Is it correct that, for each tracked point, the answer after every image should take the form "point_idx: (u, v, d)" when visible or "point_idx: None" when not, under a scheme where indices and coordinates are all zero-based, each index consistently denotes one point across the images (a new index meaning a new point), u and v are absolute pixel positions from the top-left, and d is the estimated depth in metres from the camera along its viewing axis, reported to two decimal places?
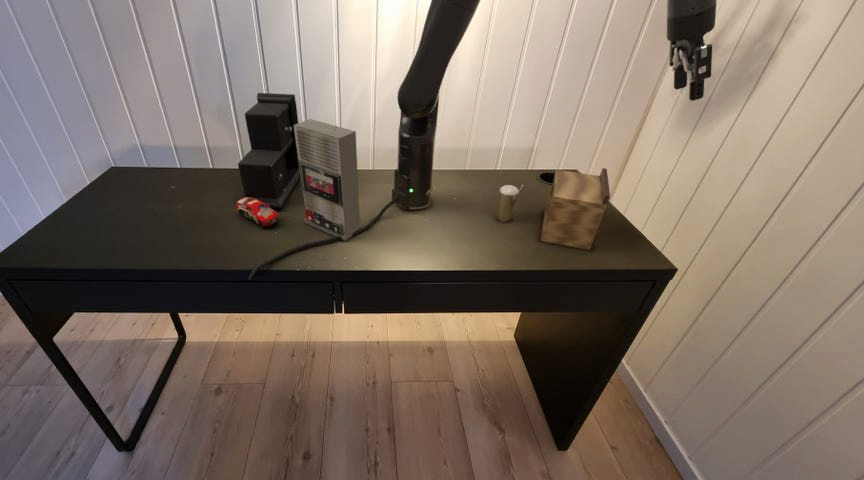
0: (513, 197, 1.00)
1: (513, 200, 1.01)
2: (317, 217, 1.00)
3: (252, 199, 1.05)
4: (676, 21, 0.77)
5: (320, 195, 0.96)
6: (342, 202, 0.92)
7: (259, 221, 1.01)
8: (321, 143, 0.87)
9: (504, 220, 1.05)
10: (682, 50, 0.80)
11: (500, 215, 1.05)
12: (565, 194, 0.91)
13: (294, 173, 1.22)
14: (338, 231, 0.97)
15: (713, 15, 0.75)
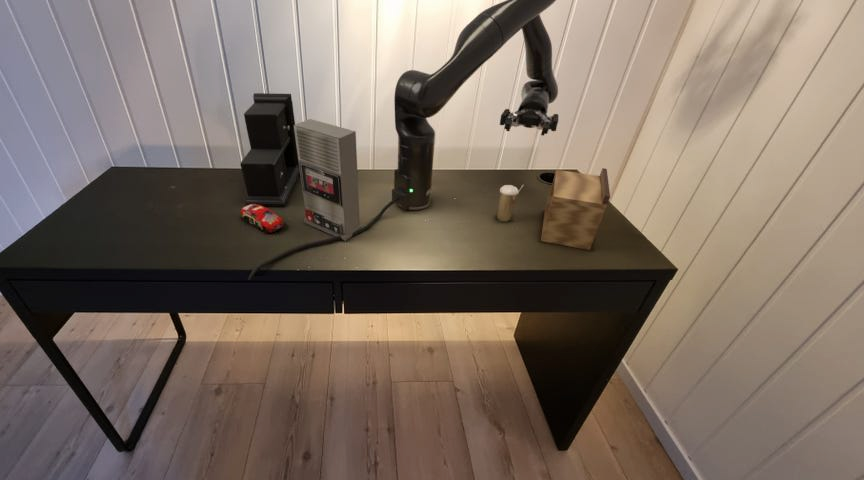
0: (513, 197, 1.00)
1: (513, 200, 1.01)
2: (317, 217, 1.00)
3: (257, 205, 1.04)
4: (543, 99, 1.10)
5: (320, 195, 0.96)
6: (342, 202, 0.92)
7: (264, 227, 1.00)
8: (321, 143, 0.87)
9: (504, 220, 1.05)
10: None
11: (500, 215, 1.05)
12: (565, 194, 0.91)
13: (292, 171, 1.24)
14: (338, 231, 0.97)
15: None
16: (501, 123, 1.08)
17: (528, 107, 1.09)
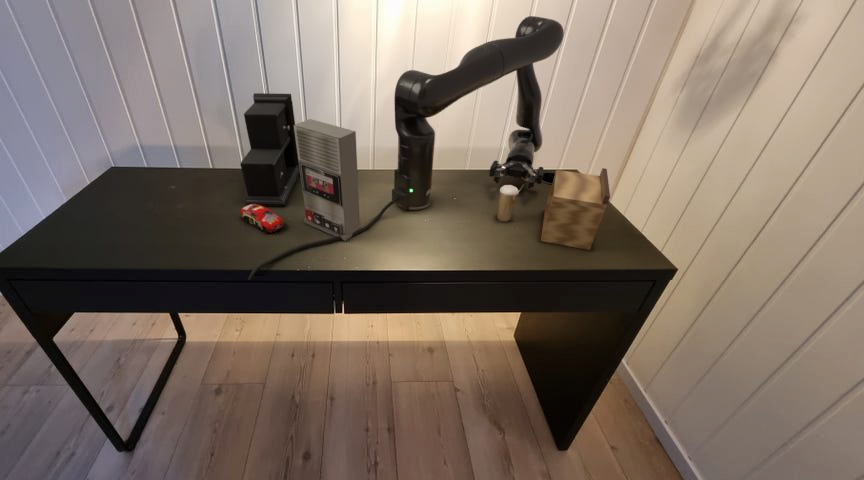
0: (513, 197, 1.00)
1: (513, 200, 1.01)
2: (317, 217, 1.00)
3: (257, 205, 1.04)
4: (529, 152, 1.18)
5: (320, 195, 0.96)
6: (342, 202, 0.92)
7: (264, 227, 1.00)
8: (321, 143, 0.87)
9: (504, 220, 1.05)
10: None
11: (500, 215, 1.05)
12: (565, 194, 0.91)
13: (292, 171, 1.24)
14: (338, 231, 0.97)
15: None
16: (490, 174, 1.15)
17: (515, 159, 1.17)
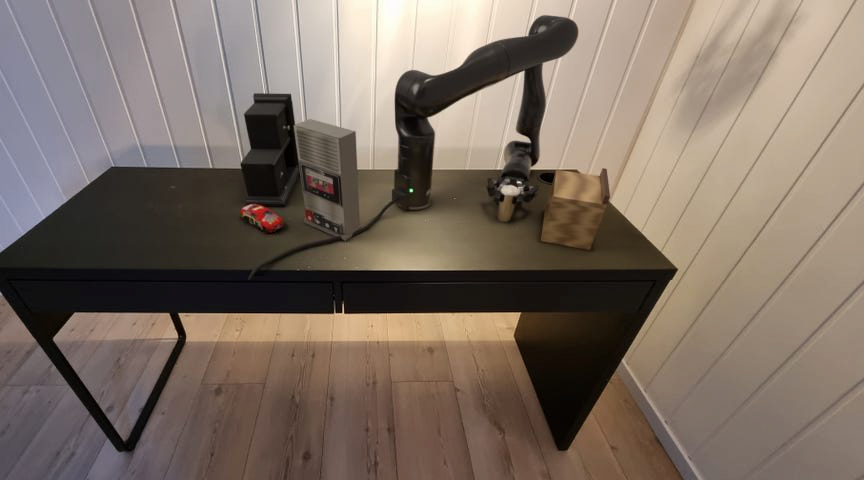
0: (514, 197, 1.00)
1: (514, 200, 1.01)
2: (317, 217, 1.00)
3: (257, 205, 1.04)
4: (525, 167, 1.10)
5: (320, 195, 0.96)
6: (342, 202, 0.92)
7: (264, 227, 1.00)
8: (321, 143, 0.87)
9: (504, 220, 1.05)
10: None
11: (501, 215, 1.04)
12: (565, 194, 0.91)
13: (292, 171, 1.24)
14: (338, 231, 0.97)
15: None
16: (491, 194, 1.06)
17: (511, 175, 1.09)
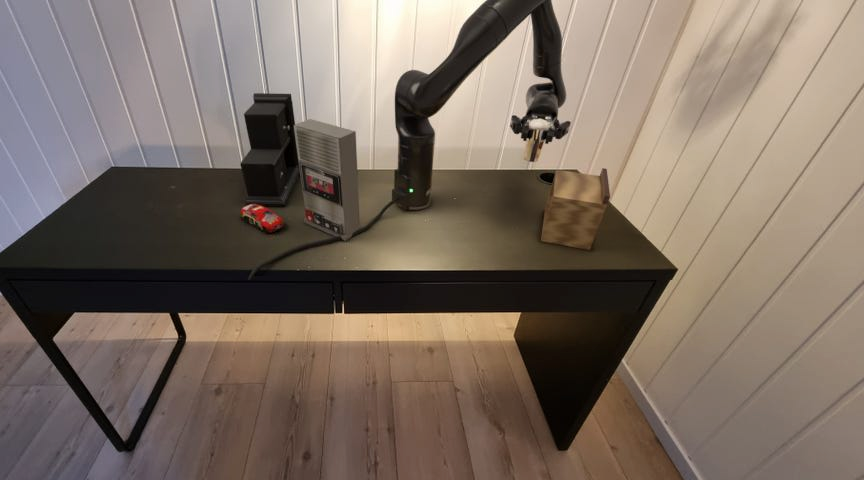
0: (544, 131, 0.89)
1: (544, 135, 0.90)
2: (317, 217, 1.00)
3: (257, 205, 1.04)
4: (553, 104, 0.99)
5: (320, 195, 0.96)
6: (342, 202, 0.92)
7: (264, 227, 1.00)
8: (321, 143, 0.87)
9: (532, 160, 0.94)
10: None
11: (528, 154, 0.93)
12: (565, 194, 0.91)
13: (292, 171, 1.24)
14: (338, 231, 0.97)
15: None
16: (517, 132, 0.94)
17: (538, 112, 0.98)
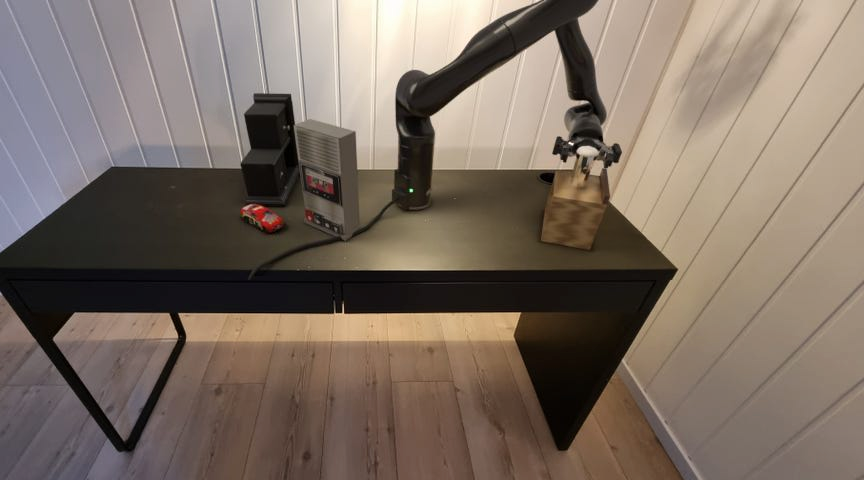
0: (593, 159, 0.89)
1: (593, 162, 0.90)
2: (317, 217, 1.00)
3: (257, 205, 1.04)
4: (599, 126, 0.98)
5: (320, 195, 0.96)
6: (342, 202, 0.92)
7: (264, 227, 1.00)
8: (321, 143, 0.87)
9: (579, 187, 0.93)
10: None
11: (575, 181, 0.93)
12: (565, 194, 0.91)
13: (292, 171, 1.24)
14: (338, 231, 0.97)
15: None
16: (554, 153, 0.95)
17: (583, 135, 0.97)
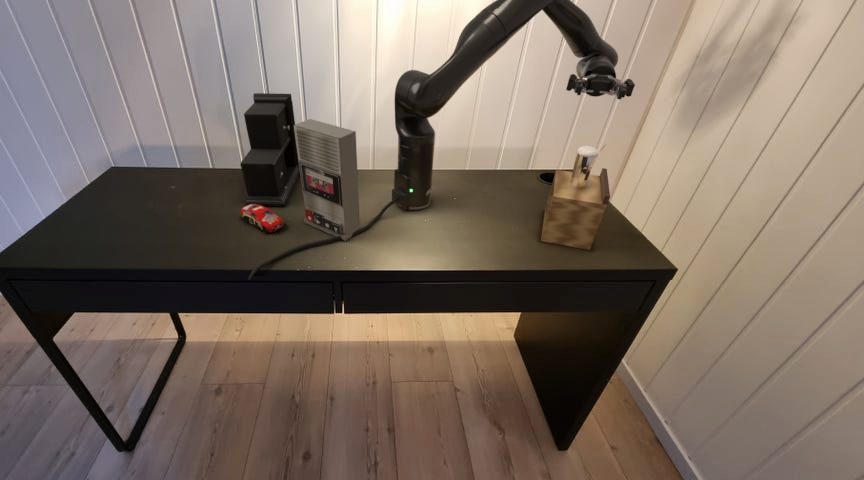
0: (593, 159, 0.89)
1: (593, 162, 0.90)
2: (317, 217, 1.00)
3: (257, 205, 1.04)
4: (611, 65, 1.01)
5: (320, 195, 0.96)
6: (342, 202, 0.92)
7: (264, 227, 1.00)
8: (321, 143, 0.87)
9: (579, 187, 0.93)
10: None
11: (575, 181, 0.93)
12: (565, 194, 0.91)
13: (292, 171, 1.24)
14: (338, 231, 0.97)
15: None
16: (568, 88, 0.98)
17: (597, 72, 1.00)
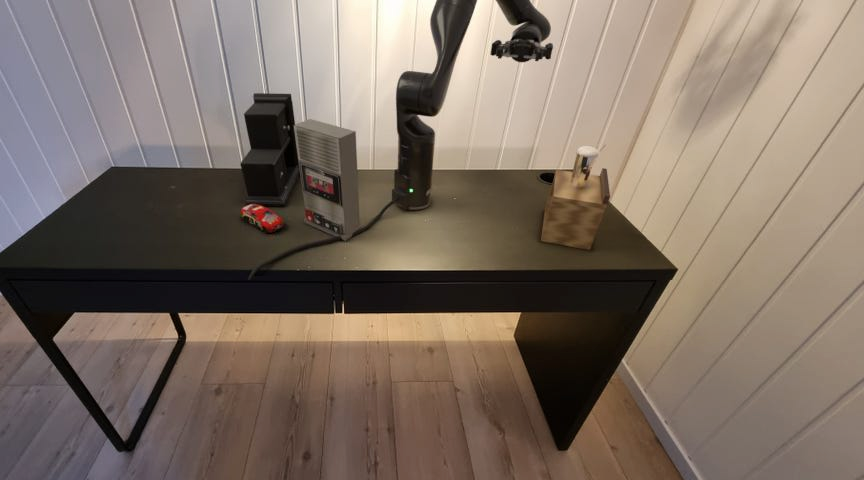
0: (593, 159, 0.89)
1: (593, 162, 0.90)
2: (317, 217, 1.00)
3: (257, 205, 1.04)
4: (536, 31, 1.04)
5: (320, 195, 0.96)
6: (342, 202, 0.92)
7: (264, 227, 1.00)
8: (321, 143, 0.87)
9: (579, 187, 0.93)
10: None
11: (575, 181, 0.93)
12: (565, 194, 0.91)
13: (292, 171, 1.24)
14: (338, 231, 0.97)
15: None
16: (492, 53, 1.00)
17: (521, 38, 1.02)
